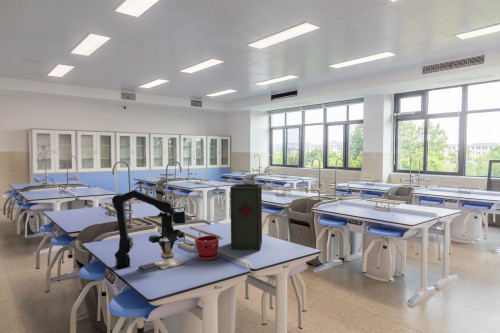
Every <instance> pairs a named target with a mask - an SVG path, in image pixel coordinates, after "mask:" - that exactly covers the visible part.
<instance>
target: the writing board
mask: <svg viewBox="0 0 500 333" xmlns="http://www.w3.org/2000/svg"><path fill="white" fill-rule="evenodd" d="M152 263H153V264H154V265H156V266H157V267H158V269H159V270H161V271H164V270H168V269H171V268H176V267H180V266H183V265H184V264H185V263H183V262H181V261H179V260H177V259H175V258H171V259H166V260H165V259H163V260H159V261H155V262H152Z"/></svg>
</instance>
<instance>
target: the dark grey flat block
mask: <svg viewBox="0 0 500 333" xmlns="http://www.w3.org/2000/svg"><path fill="white" fill-rule="evenodd" d="M153 263H154V262H150V263H146V264H141V265H139V266H137V270H138V271H140V272H141V273H142V274H144V273H148V272H153V271H157V270H158V269H159V268H158V267H157V266H156V265H154V264H153Z"/></svg>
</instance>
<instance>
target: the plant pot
mask: <svg viewBox="0 0 500 333" xmlns="http://www.w3.org/2000/svg"><path fill="white" fill-rule="evenodd" d="M219 244H220V243H219V237H218V236H216V235H204V236H203V235H202V236H199V237H197V238H196V239H195V246H196V250H197V254H198V256H197V257H198V259H200V260H201V261H213V260H216V259H217V258H218V256H219V253H218V250H219Z"/></svg>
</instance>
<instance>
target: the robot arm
mask: <svg viewBox="0 0 500 333" xmlns="http://www.w3.org/2000/svg"><path fill="white" fill-rule="evenodd" d="M132 199H136V200H139V201H141V202H144V203H145V204H149V205H151V206H153V207H154V208H156V210H159V211H160V212H159V213H158V214H157V218H158V217H160V218H161V220H160V222H161V225H160V228H161V232H160V235H157V234H153V235H149V237H148V241H149V242H150V243H152V244H155V243H158V244H159V247H160V249H161V251H162V252H163V253H165V247H164V243H165V240H166V239H167V241H170V246H171V251H172V250H173V247H174V245H175V242H177V241H178V240H179V239H181V238H185V232H183V231H181V230H180V229H174V226H173V223H174V224H176V225H181V224H186V221H187V220H186V218H187V217H186V211H185V210H182V211H176V210H175V208H174V207H173V204H172V202H171V201H170V200H166V199H159V198H156V197H153V196H151V195H149V194H146V193H144V192H141V191H139V190H138V189H133V190H131V191H128V192H125V193H124V194H123V193H118V194H116V195H114V196H113V197H112V199H111V202H112V205H113V208H114V210H115V211H116V218H117V226H118V232H119V242H118V243H119V244H118V250H117V251H116V252H115V253H114V257H115V265H114V267H115V268H116V269H117V270H122V269H126V268H131V257H130V254H129V253H130V252H131V250H132V248H133V245H134V243H133V237H130V236H129V230H128V229H129V228H128V224H127V223H128V222H127V216H126V206H127V205H126V204H127V201H128V200H132ZM164 239H165V240H164Z"/></svg>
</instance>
